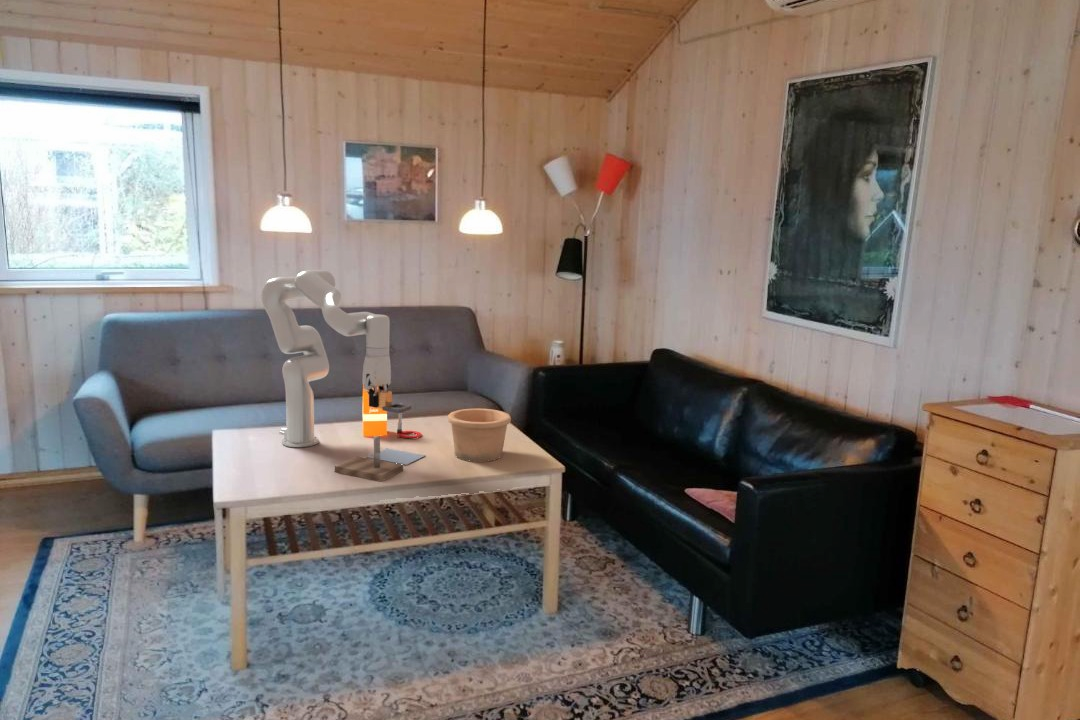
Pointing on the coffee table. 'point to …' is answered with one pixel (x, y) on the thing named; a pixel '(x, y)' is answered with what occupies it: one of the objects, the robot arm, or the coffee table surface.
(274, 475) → the coffee table surface
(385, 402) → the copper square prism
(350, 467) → the post stand
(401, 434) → the tow hook
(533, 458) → the coffee table surface
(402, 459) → the mat
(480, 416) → the pottery
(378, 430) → the orange juice
